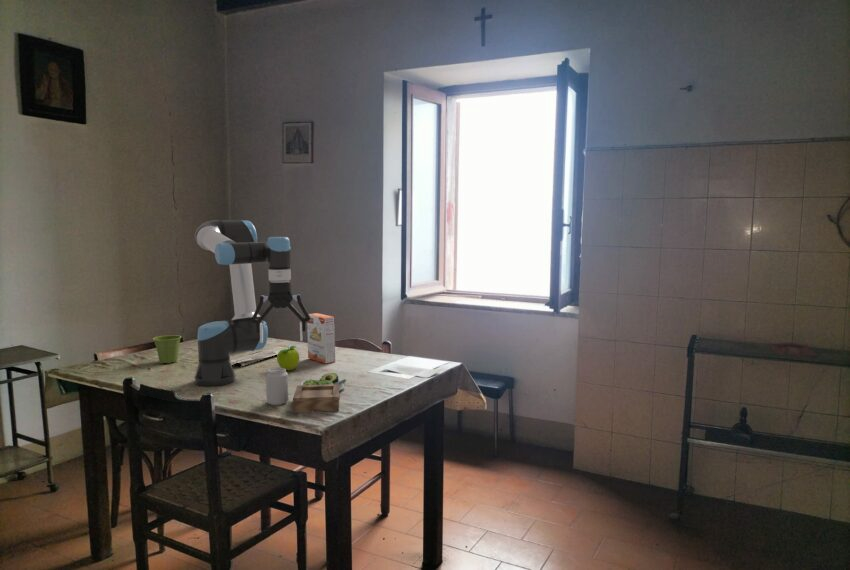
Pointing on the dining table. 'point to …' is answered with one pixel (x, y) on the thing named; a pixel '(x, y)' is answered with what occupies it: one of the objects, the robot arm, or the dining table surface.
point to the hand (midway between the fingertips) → (281, 341)
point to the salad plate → (326, 381)
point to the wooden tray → (316, 398)
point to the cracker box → (321, 338)
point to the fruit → (288, 358)
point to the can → (277, 386)
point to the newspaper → (258, 356)
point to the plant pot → (167, 348)
